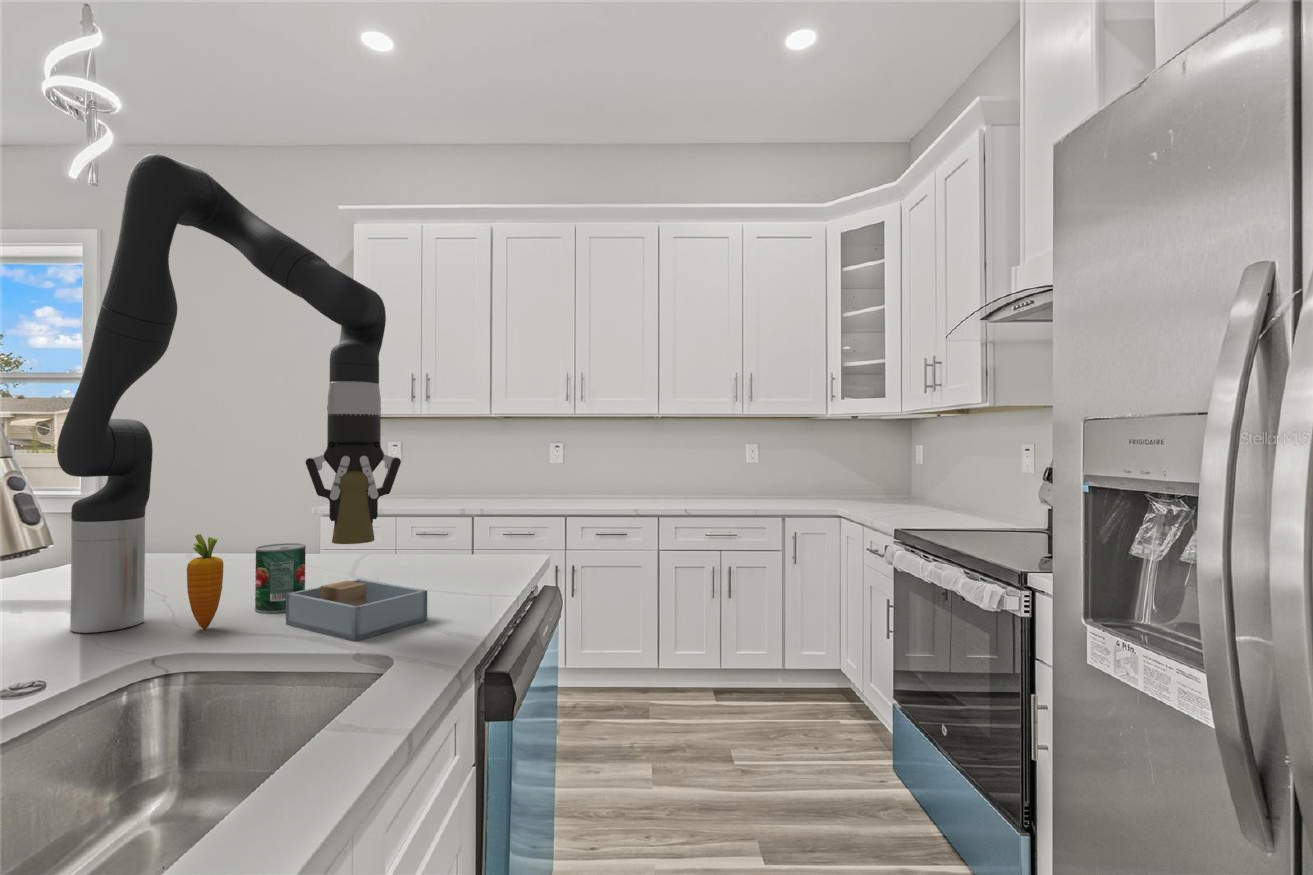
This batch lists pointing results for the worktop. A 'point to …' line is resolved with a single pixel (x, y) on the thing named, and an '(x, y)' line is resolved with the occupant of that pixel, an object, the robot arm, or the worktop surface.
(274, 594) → the canned tomato
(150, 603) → the worktop surface
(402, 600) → the tote
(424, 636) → the worktop surface
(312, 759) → the worktop surface
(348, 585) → the walnut cube
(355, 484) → the cork
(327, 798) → the worktop surface
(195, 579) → the carrot
